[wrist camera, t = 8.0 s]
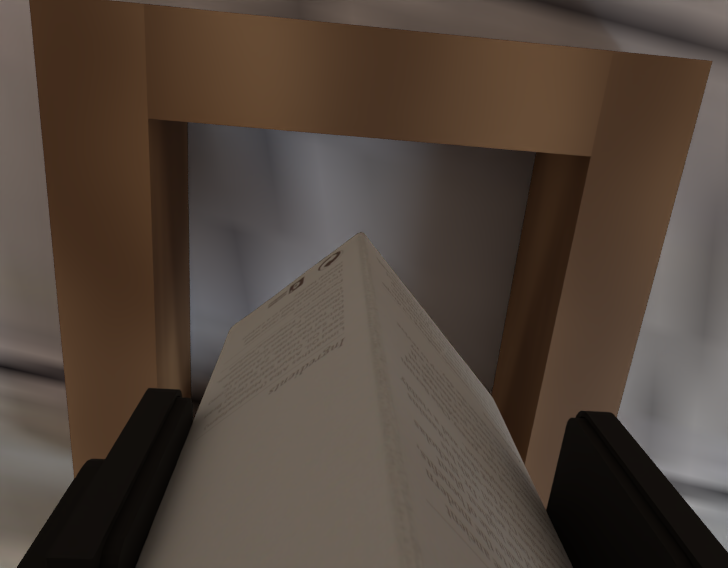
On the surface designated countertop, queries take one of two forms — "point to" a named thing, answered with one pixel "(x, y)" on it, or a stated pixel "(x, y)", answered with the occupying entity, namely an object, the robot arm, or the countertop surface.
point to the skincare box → (348, 442)
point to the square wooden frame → (361, 119)
